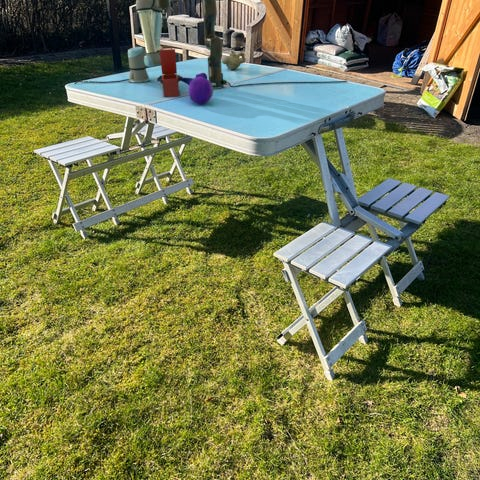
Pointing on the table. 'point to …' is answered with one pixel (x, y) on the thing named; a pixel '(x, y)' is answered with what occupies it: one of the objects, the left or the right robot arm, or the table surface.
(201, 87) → the toy
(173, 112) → the table surface
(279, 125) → the table surface
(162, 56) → the lid
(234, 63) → the teapot
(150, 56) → the left robot arm
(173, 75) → the chest
